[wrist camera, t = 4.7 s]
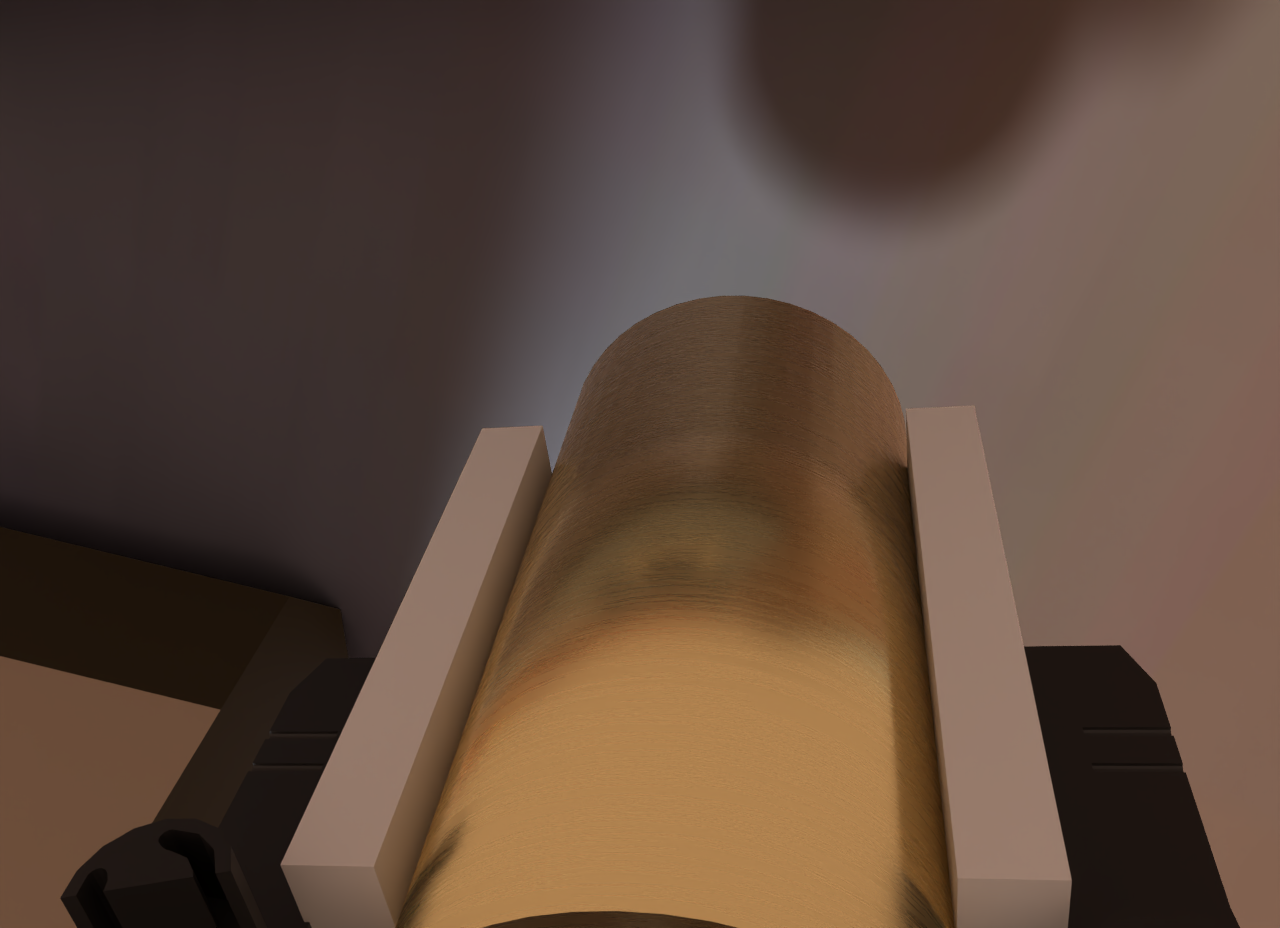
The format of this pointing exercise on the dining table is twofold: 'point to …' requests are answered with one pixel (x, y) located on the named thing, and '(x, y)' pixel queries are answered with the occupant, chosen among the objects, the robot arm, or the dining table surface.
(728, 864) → the gold cylinder
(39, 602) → the brown box
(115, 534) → the dining table surface
